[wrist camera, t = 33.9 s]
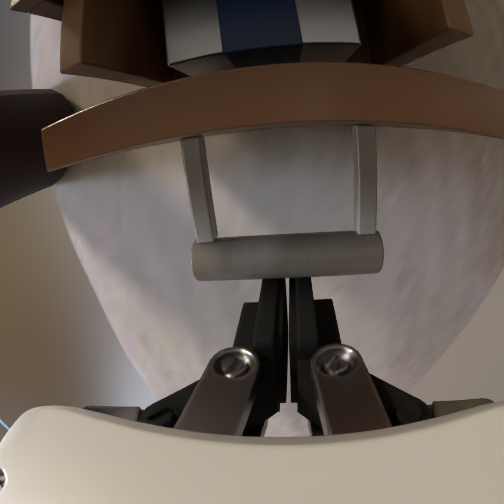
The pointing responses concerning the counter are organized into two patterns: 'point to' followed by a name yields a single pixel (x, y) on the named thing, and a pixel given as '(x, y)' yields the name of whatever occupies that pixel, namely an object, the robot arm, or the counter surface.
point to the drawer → (268, 116)
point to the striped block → (256, 33)
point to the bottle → (27, 140)
